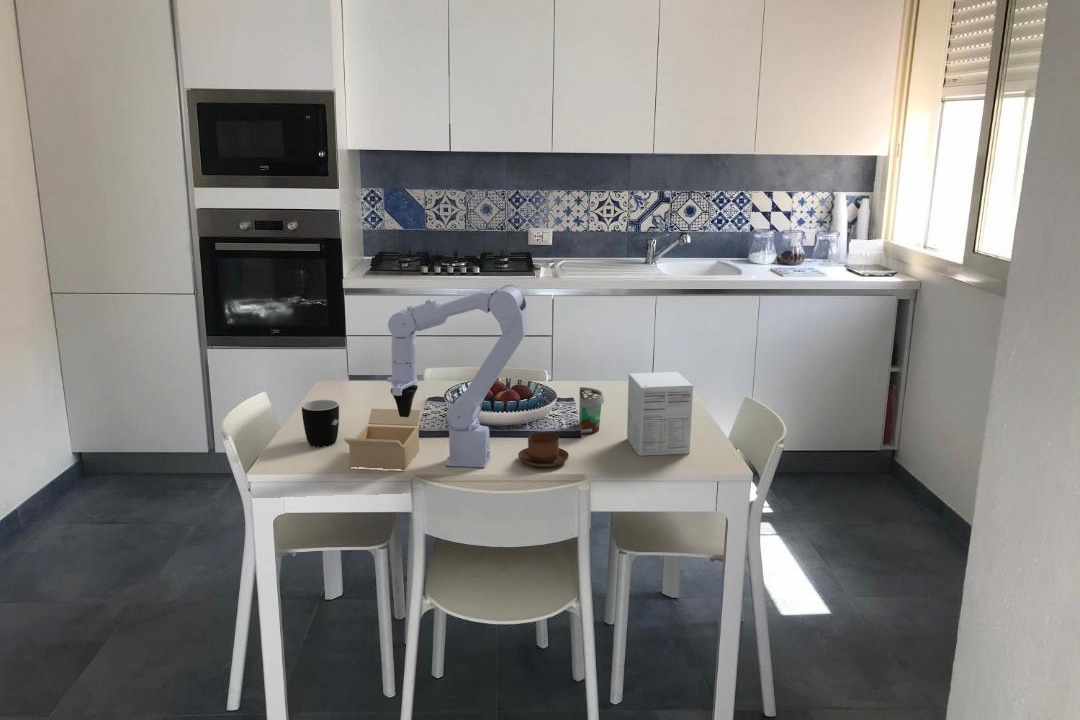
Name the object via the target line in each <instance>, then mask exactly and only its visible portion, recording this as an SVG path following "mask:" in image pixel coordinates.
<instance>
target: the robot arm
mask: <svg viewBox="0 0 1080 720" xmlns="http://www.w3.org/2000/svg"><path fill="white" fill-rule="evenodd" d="M527 307H528V303H527V300H526V297H525V294H524V292H523V291H522V289H521V288H520V287H519V286H517V285H514V284H506V285H504V286H502V287H501V286H496V287H492V288H487V289H483V290H480V291H477V292H474V293H471V294H468V295H465V296H462V297H459V298H456V299H453V300H451V301H448V302H446V303H445V302H442V301H440V300H437V299H435V300H433V299H432V298H429V299H427V300H425V303H423V304H419V305H415V306H413V305H410V306H407V307H406V308H403V309H401V310H399V311H397V312H395V313H393V315H391V317H389V319H388V323H387V329H388V330H389V331H388V332H390V333H391V376H389V377H387V379H386V382H387V383H391V388H390V394H391V395H392V397H393V399H394V401H395V403H396V407H397V409H398V412H399V416H400V417H409V415H410V412H411V410H412V405H413V402H414V397H415V395H416V392H417V390H418V388H419V385H418V376H417V332H421V331H424V330H425V331H426V330H427V329H430V328H435V327H437V326H441V325H445V323H447V320H448V317H449V318H450V317H451V316H456V315H460V314H463V313H467V312H472V311H474V310H475V311H476V310H480V311H482V312H484V313H486V314H489V313H490V312H491V314H492V315H493V317H494V318H495V320H496V321H497V323H498V324H499V326H500V329H501V332H502V333H501V335H500V337H499V339H497V341H496V343H495V344H494V346H493V348H492V350H490V352H489V354H488V355H487V357H486V358H485V360H484V361H483V363H482V365H481V366H480V368H479V370H478V371H477V373H476V374H475V375H474V377H473V379H472V381H471V382H470V384H469V385H468V387H467V388H466V389H465V390H464V392H463V393H462V394H461V395H459V396H458V397H457V399H456V400H455V402H454V403H453V404H451V406H449V407H448V409H447V410H446V415H445V417H446V422H447V423H448V434H449V435H448V436H449V440H448V443H449V444H448V446H449V457H448V459H447V460H446V462H445V463H444V464H445V466H447V467H463V468H464V467H466V468H486V466H487V463H488V462H489V459H490V457H491V454H490V453H491V450H490V449H491V448H490V445H491V444H490V427H489V426H487V425H486V426H485V425H481V424H480V421H479V418H478V416H479V414H481V411H482V404H483V401H484V399H485V398H486V396H487V394H488V393H489V391H490V390H491V388H492V386H494V384H495V382H496V380H497V379H498V377H499V376H500V375H501V373H502V371H503V370H504V368H505V367H506V366H507V364H508V362H509V361H510V359H511V357H512V356H513V354H514V353H515V352H516V350H517V349H518V347H519V345H520V344H521V343H522V341H523V339H524V338H525V336H526V333H527V309H528V308H527ZM416 384H417V385H416Z"/></svg>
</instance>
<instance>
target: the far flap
mask: <svg viewBox="0 0 1080 720" xmlns="http://www.w3.org/2000/svg"><path fill="white" fill-rule="evenodd" d="M421 413H422V410H421V409H420V410H419V409H411V412H410V415H409V417H400V416H399V412H398V408H397V409H395V408H393V409H392V408H371V410H370V413H369V418H368V422H367V424H368V425H373V426H400V427H418V426H419V422H420V419H421V418H420V417H421Z"/></svg>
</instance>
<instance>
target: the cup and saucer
mask: <svg viewBox="0 0 1080 720" xmlns="http://www.w3.org/2000/svg"><path fill="white" fill-rule="evenodd" d="M517 455H518V459H519V460H520V461H521V462H522V463H524V464H525V465H528V466H532V467H535V468H551V467H557V466H560V465H562V464H563V463H566V461H568V459H569V453H568V451H566V450H565V449H563V448H560V436H558V434H557V435H556V434H555V433H551V432H550V433H549V432H537V433H536V432H535V433H532V434H530V435H528V437H527V447H526V448H524V449H521V450H520V451H518V453H517Z"/></svg>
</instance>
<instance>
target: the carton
mask: <svg viewBox="0 0 1080 720" xmlns="http://www.w3.org/2000/svg"><path fill="white" fill-rule="evenodd" d="M419 430H420V429H419V427H418V426H395V425H366V426H364V428H362V430H361V431H360V432H359V433H358V434H357V436H355V438H358V439H383V440H399V441H400V443H401V444H402V445H403V447H379V446H354V445H349V444H348V446H349V449H348V450H349V463H350V464H349V465H350V466H349V467H357V468H358V467H364V468H365V467H366V468H383V469H401V470H406V468H407V467H408V465H409V464H410V462H411V461H412V459H413V458H414V457H415V458H416V456H417V455H418V453H419V452H420V438H419V437H420V436H419V435H420V434H419V432H420V431H419ZM418 451H419V452H418ZM417 452H418V453H417ZM416 454H417V455H416ZM415 455H416V456H415ZM415 458H414V459H415ZM414 459H413V460H414ZM412 462H413V461H412ZM412 462H411V463H412ZM410 465H411V464H410ZM410 465H409V466H410ZM408 468H409V467H408ZM408 468H407V469H408ZM406 471H407V470H406Z"/></svg>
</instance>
